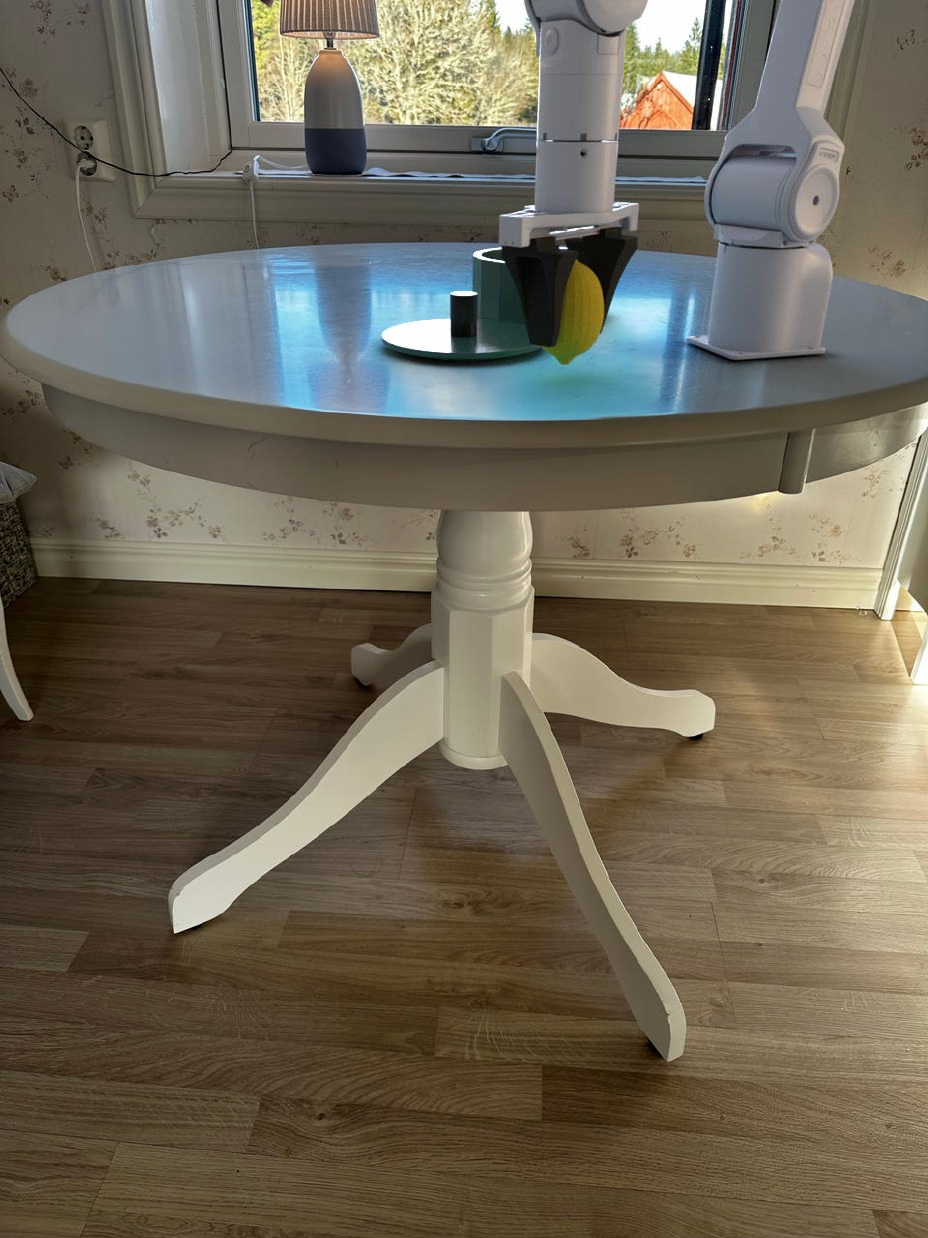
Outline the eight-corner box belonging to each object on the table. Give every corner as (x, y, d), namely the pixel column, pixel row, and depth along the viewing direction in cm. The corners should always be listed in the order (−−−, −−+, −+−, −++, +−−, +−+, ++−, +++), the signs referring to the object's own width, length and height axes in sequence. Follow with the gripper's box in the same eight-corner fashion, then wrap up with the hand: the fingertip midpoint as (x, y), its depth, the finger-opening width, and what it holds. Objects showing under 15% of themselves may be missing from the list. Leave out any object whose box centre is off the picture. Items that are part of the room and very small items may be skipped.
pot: (562, 297, 106) (565, 241, 103) (639, 329, 90) (645, 265, 87) (448, 302, 102) (448, 245, 99) (508, 337, 86) (510, 271, 83)
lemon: (543, 375, 69) (548, 262, 66) (520, 358, 74) (523, 252, 70) (611, 371, 71) (620, 260, 67) (584, 354, 75) (591, 250, 72)
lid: (511, 326, 91) (512, 277, 88) (571, 359, 79) (574, 303, 76) (365, 335, 87) (363, 283, 84) (405, 371, 75) (404, 312, 72)
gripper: (590, 137, 72) (579, 317, 78) (466, 141, 62) (465, 345, 69) (669, 139, 68) (650, 329, 74) (549, 143, 58) (540, 360, 65)
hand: (566, 338), depth 71 cm, fingers closed on lemon, 5 cm apart
